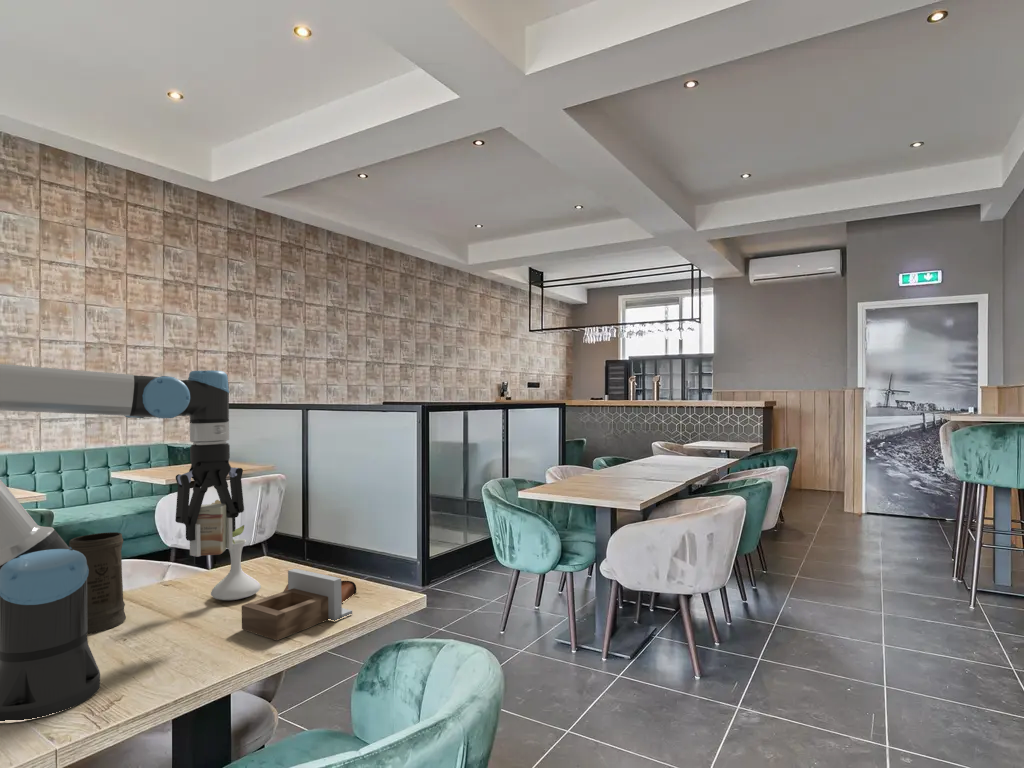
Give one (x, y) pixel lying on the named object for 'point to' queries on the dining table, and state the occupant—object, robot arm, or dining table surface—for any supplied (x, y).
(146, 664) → the dining table surface
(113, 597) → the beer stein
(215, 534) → the skincare box
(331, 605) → the wall
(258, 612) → the socket block
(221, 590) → the flower in vase
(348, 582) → the sunglasses case
